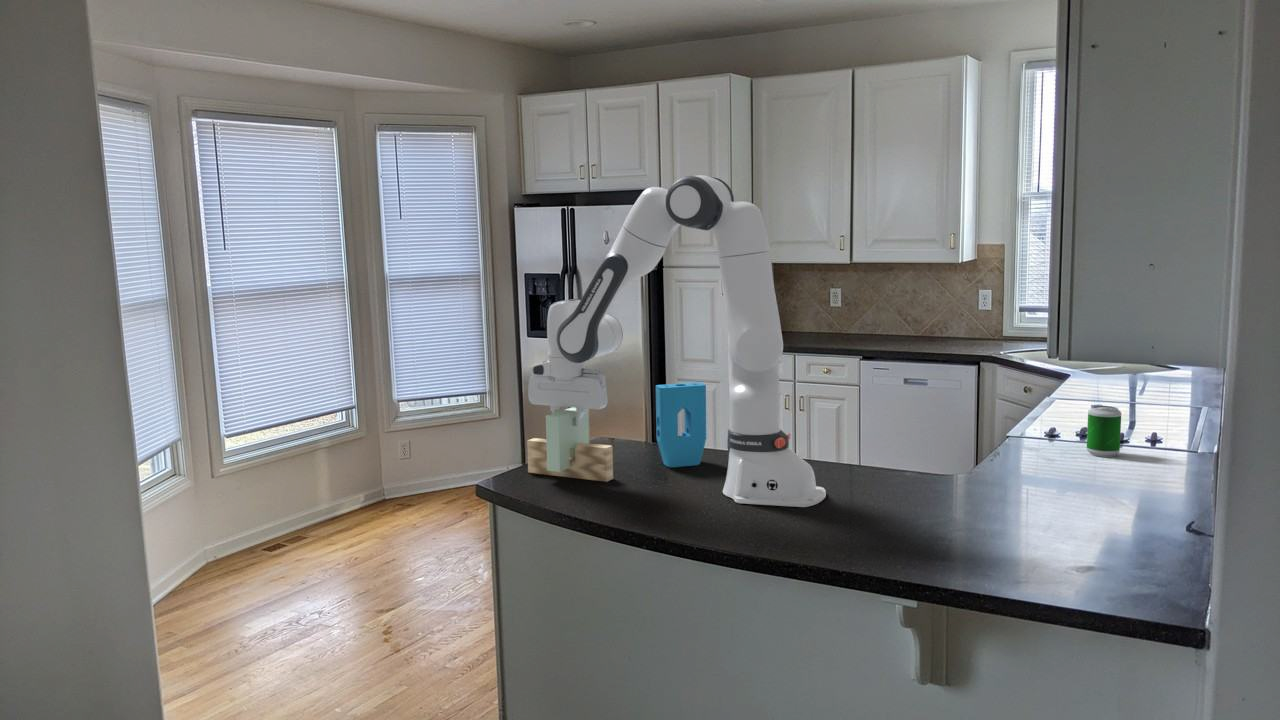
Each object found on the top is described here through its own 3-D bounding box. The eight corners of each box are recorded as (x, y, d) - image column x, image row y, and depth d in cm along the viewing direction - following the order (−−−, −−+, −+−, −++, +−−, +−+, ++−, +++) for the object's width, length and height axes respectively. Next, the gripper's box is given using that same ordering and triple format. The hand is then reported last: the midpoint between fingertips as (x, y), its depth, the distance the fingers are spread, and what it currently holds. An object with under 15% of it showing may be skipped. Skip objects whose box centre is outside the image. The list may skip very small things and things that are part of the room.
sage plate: (589, 458, 234) (588, 406, 232) (559, 471, 222) (558, 417, 220) (577, 457, 236) (576, 405, 234) (547, 470, 223) (545, 415, 222)
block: (662, 468, 235) (660, 388, 232) (655, 463, 239) (654, 385, 237) (707, 464, 238) (707, 385, 235) (700, 459, 243) (700, 382, 240)
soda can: (1123, 458, 236) (1125, 410, 234) (1090, 457, 238) (1092, 410, 236) (1114, 451, 243) (1116, 405, 242) (1082, 450, 245) (1085, 404, 243)
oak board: (613, 478, 226) (612, 445, 224) (606, 481, 223) (606, 448, 222) (534, 469, 235) (533, 438, 234) (528, 472, 233) (527, 440, 232)
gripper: (611, 368, 224) (612, 425, 226) (538, 363, 233) (539, 419, 235) (598, 371, 218) (599, 431, 220) (523, 367, 227) (525, 424, 229)
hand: (568, 425), depth 227 cm, fingers closed on sage plate, 3 cm apart
